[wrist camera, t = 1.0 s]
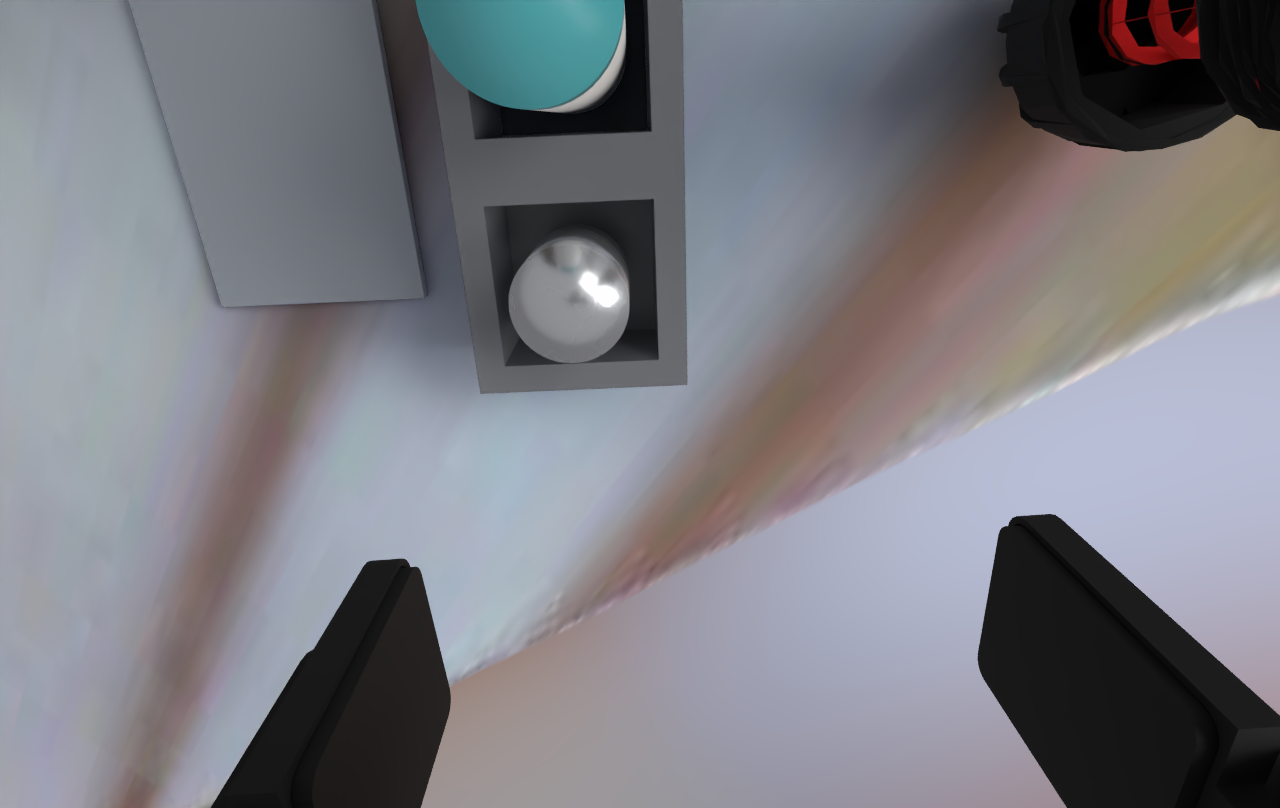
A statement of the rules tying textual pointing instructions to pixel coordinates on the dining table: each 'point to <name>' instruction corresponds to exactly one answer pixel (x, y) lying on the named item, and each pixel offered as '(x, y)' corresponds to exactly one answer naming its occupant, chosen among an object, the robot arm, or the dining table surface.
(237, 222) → the mat
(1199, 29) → the filter
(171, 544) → the dining table surface
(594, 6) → the cylinder
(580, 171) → the housing
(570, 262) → the silver metallic cylinder
